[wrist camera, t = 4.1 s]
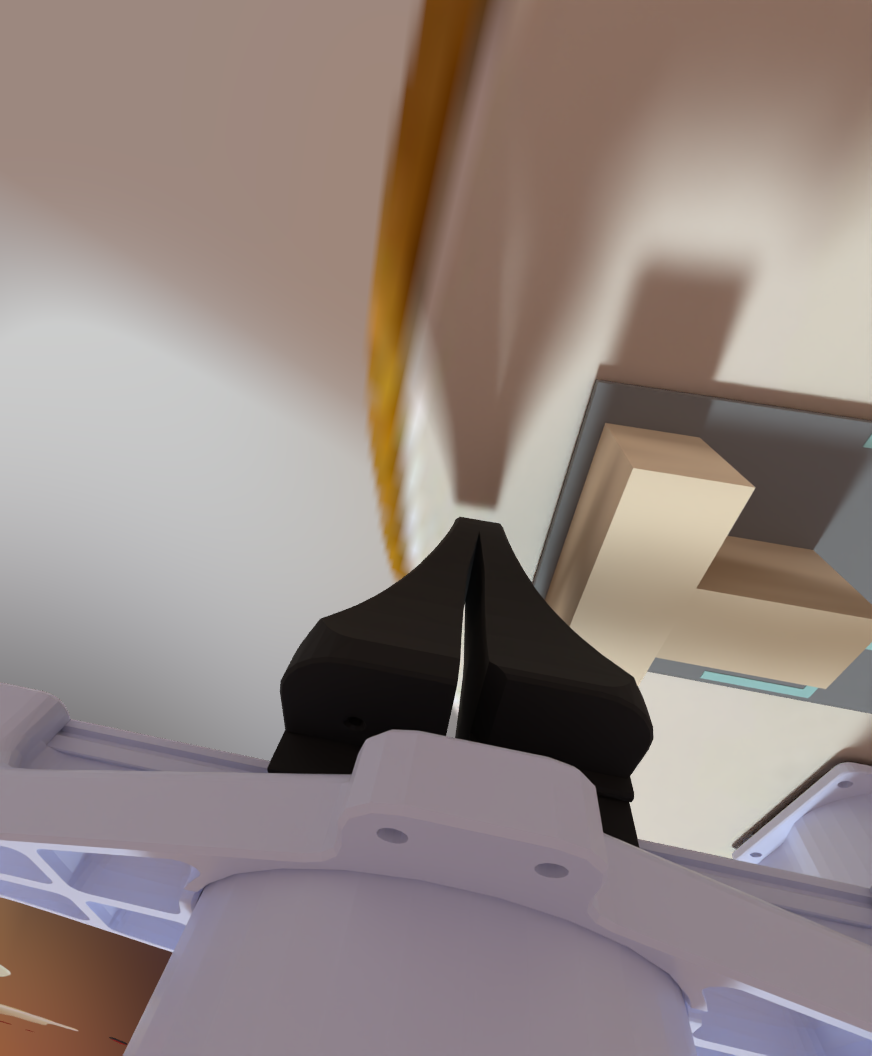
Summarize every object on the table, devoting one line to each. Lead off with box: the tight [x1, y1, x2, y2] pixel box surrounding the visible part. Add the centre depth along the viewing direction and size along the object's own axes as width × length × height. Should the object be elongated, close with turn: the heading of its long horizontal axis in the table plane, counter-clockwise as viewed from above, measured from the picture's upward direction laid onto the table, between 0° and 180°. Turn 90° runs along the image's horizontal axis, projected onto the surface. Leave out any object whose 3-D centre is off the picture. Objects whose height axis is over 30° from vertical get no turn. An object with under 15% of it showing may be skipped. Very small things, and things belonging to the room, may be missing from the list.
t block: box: [545, 423, 872, 689], centre depth 12 cm, size 8×7×3 cm
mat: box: [533, 380, 872, 714], centre depth 13 cm, size 10×16×1 cm, turn 84°
